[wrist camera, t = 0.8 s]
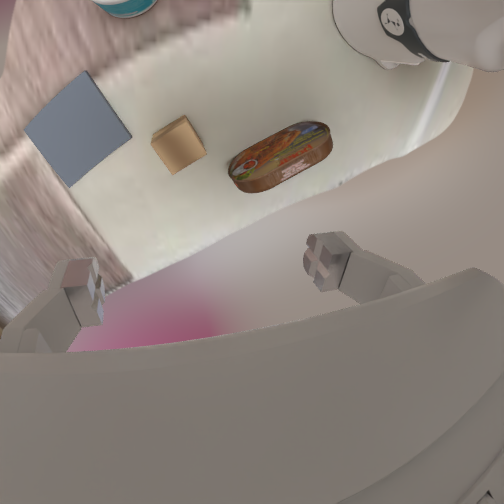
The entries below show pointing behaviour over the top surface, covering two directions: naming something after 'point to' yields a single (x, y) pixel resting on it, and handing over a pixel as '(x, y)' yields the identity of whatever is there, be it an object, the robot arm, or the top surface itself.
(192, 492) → the robot arm
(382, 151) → the top surface
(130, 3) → the pill bottle
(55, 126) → the mat
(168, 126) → the cube
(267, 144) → the tin
